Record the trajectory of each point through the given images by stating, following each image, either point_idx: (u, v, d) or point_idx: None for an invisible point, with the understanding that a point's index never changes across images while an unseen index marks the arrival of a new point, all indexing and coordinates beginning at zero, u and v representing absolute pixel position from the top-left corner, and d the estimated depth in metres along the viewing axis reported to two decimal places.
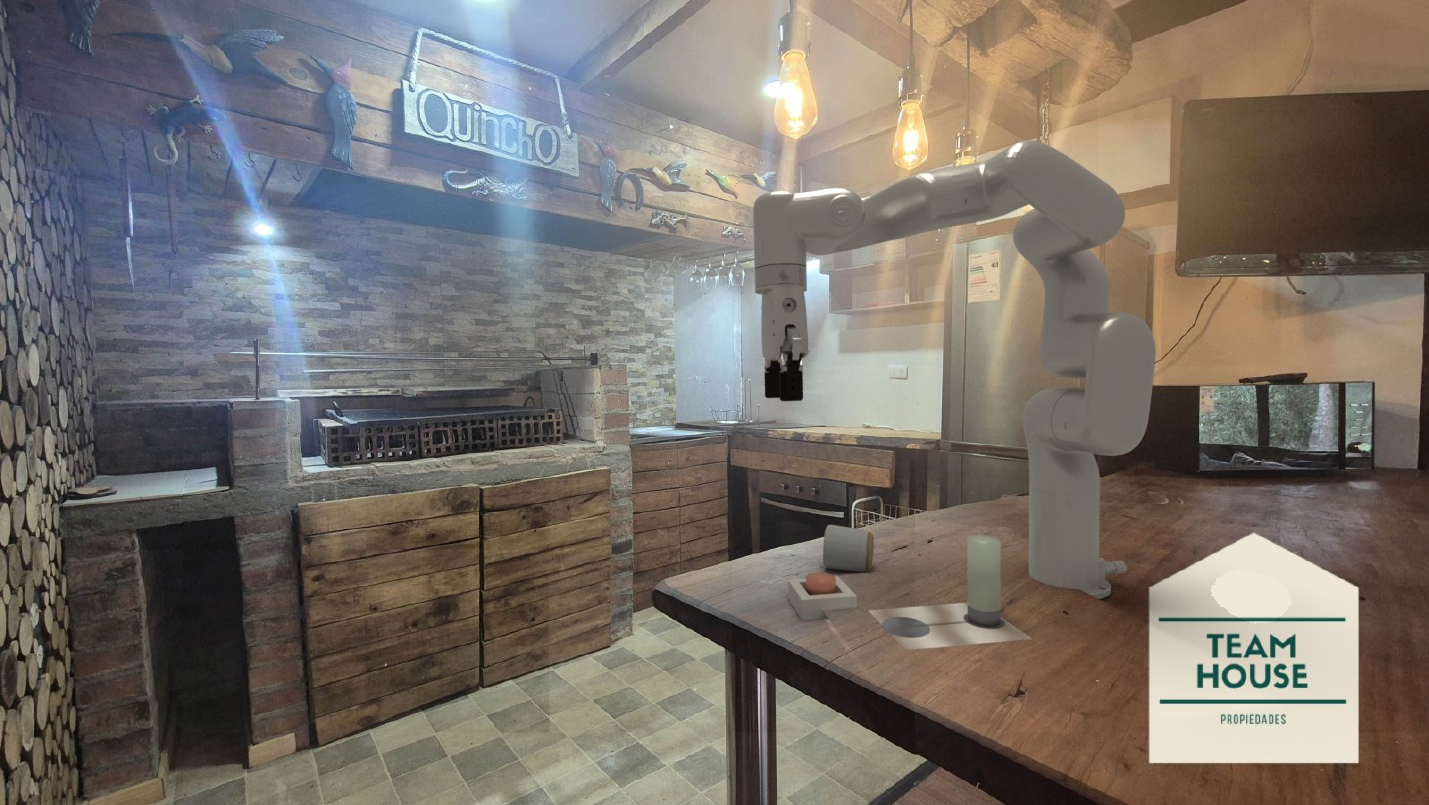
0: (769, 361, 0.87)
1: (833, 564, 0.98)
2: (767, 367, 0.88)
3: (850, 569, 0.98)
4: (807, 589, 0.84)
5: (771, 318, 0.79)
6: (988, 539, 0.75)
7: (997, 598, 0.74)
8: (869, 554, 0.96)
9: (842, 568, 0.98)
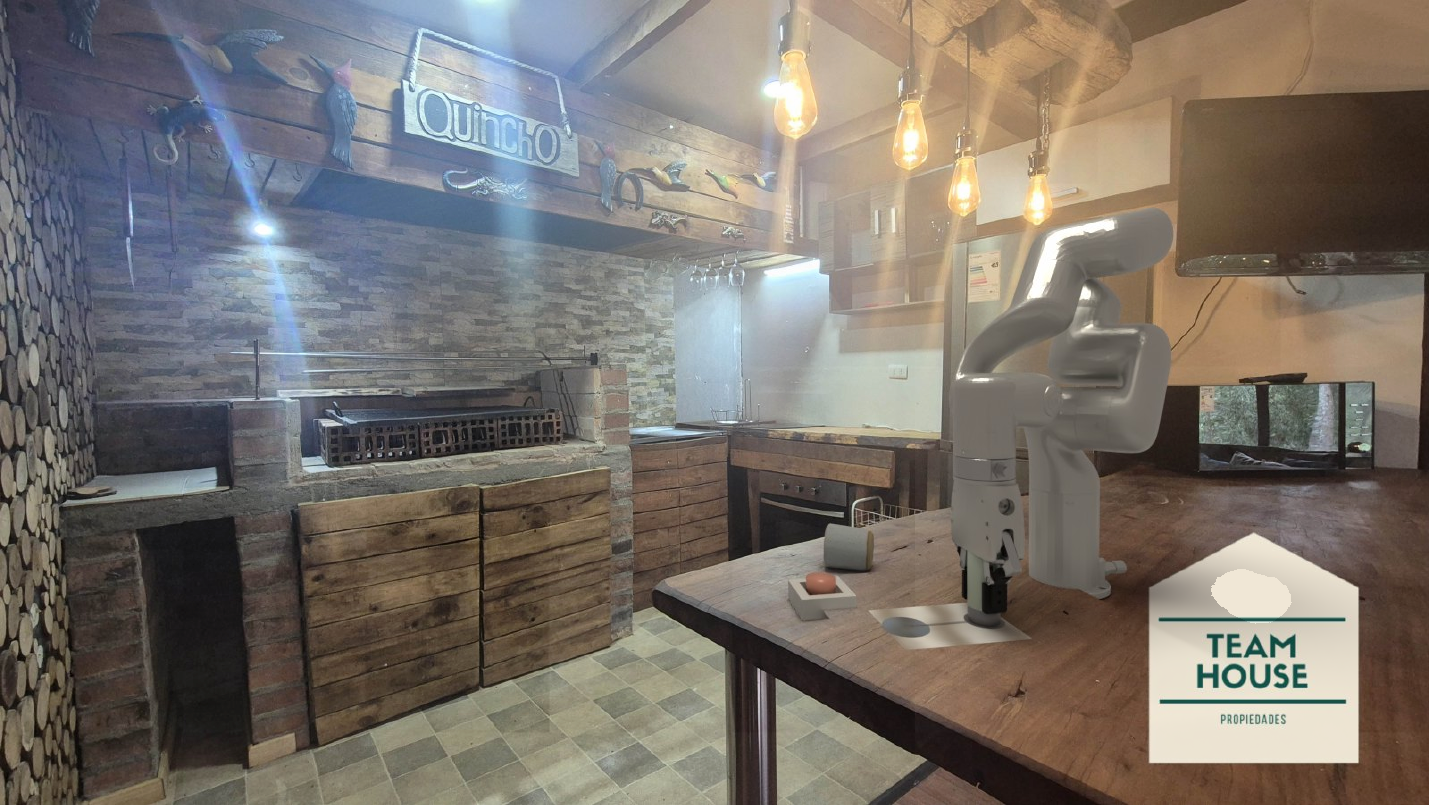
0: None
1: (833, 563, 0.99)
2: (965, 562, 0.78)
3: (850, 568, 0.99)
4: (807, 589, 0.84)
5: (984, 519, 0.71)
6: None
7: None
8: (869, 553, 0.97)
9: (842, 567, 0.99)
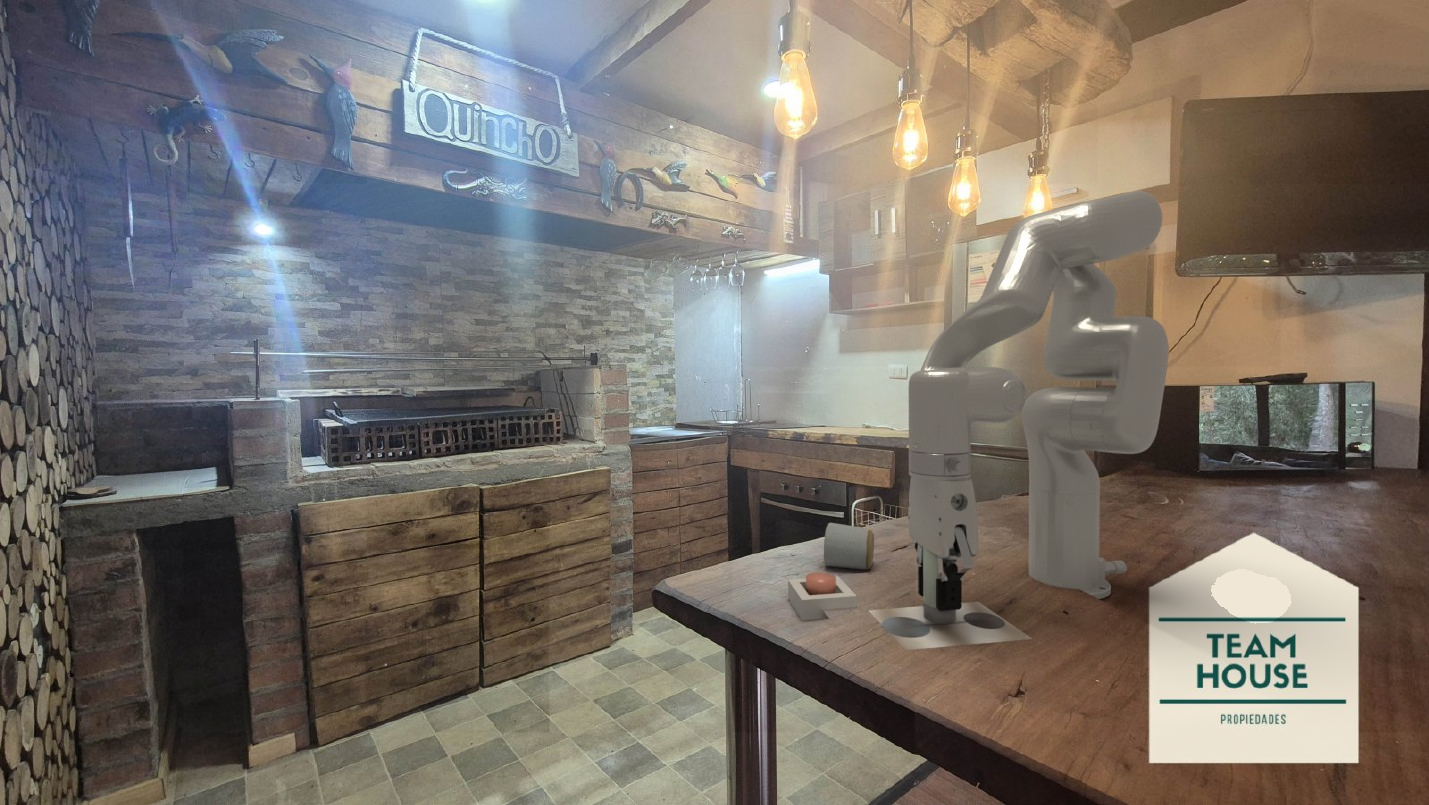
0: None
1: (834, 562, 0.99)
2: (922, 558, 0.77)
3: (850, 566, 0.99)
4: (807, 589, 0.84)
5: (937, 514, 0.70)
6: None
7: None
8: (869, 552, 0.97)
9: (843, 566, 1.00)
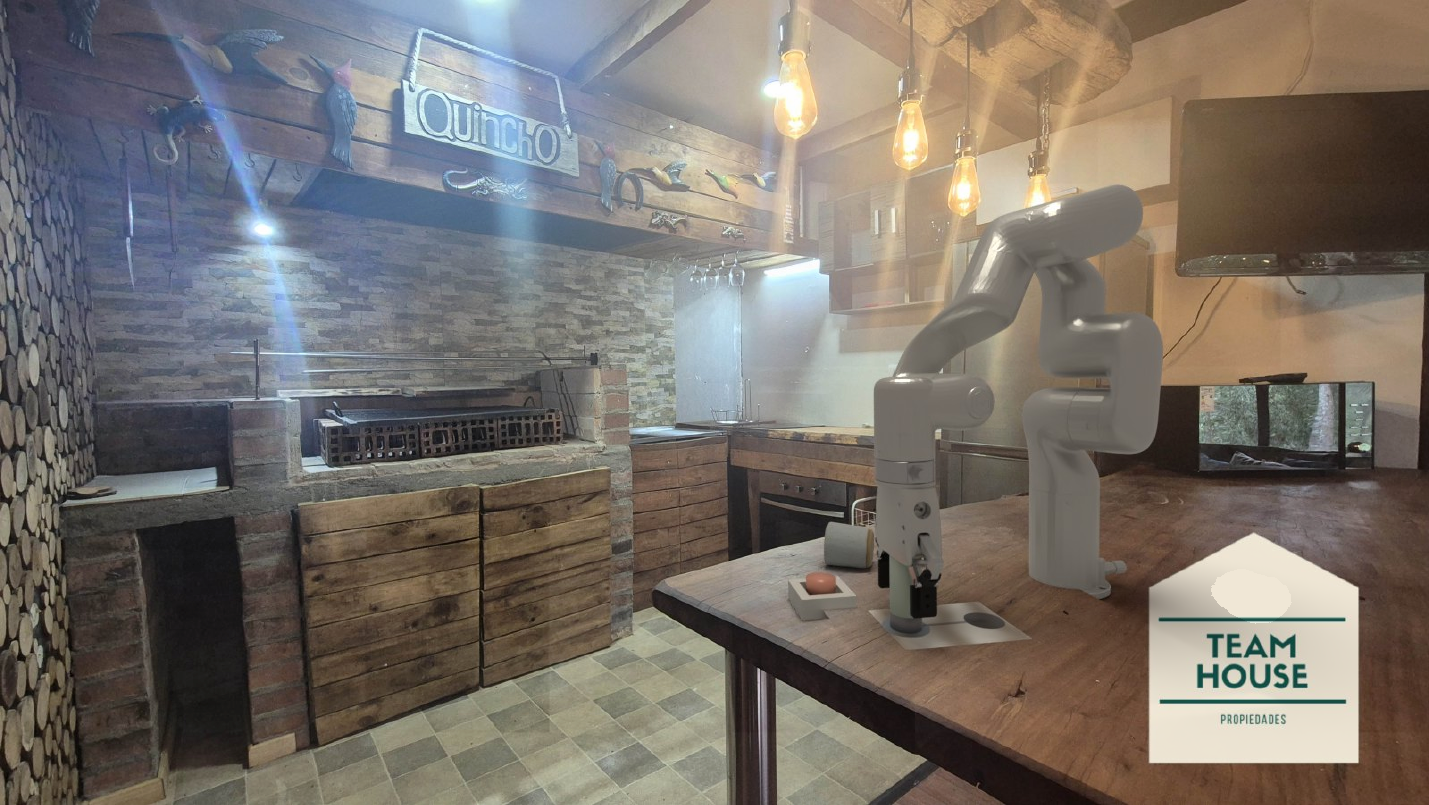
0: None
1: (834, 560, 1.00)
2: (881, 554, 0.79)
3: (850, 565, 1.00)
4: (807, 589, 0.84)
5: (900, 522, 0.70)
6: None
7: None
8: (869, 551, 0.98)
9: (843, 564, 1.00)
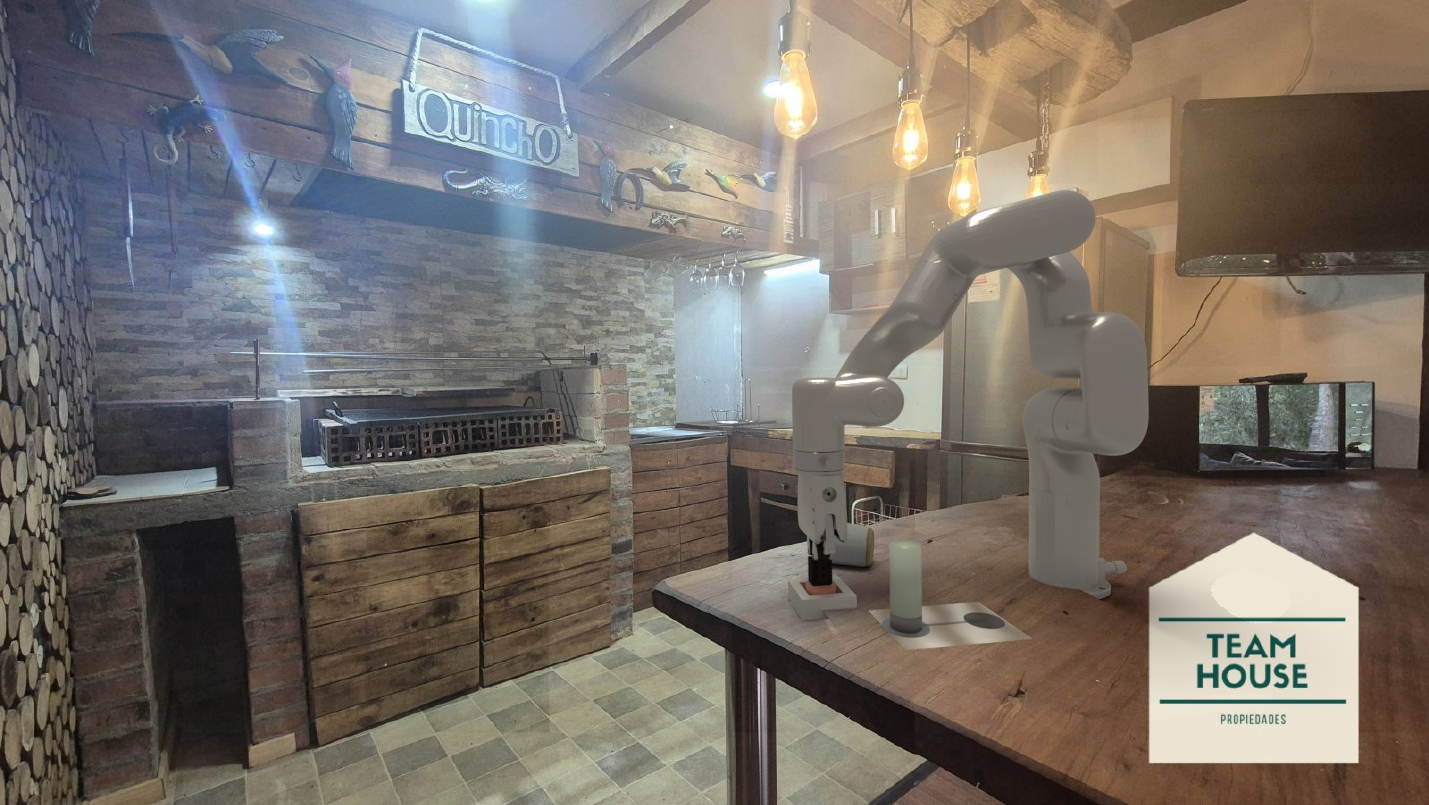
0: (811, 539, 0.85)
1: (834, 559, 1.01)
2: (810, 547, 0.85)
3: (851, 564, 1.01)
4: None
5: (811, 505, 0.80)
6: (910, 544, 0.74)
7: (917, 604, 0.73)
8: (869, 549, 0.99)
9: (843, 562, 1.01)
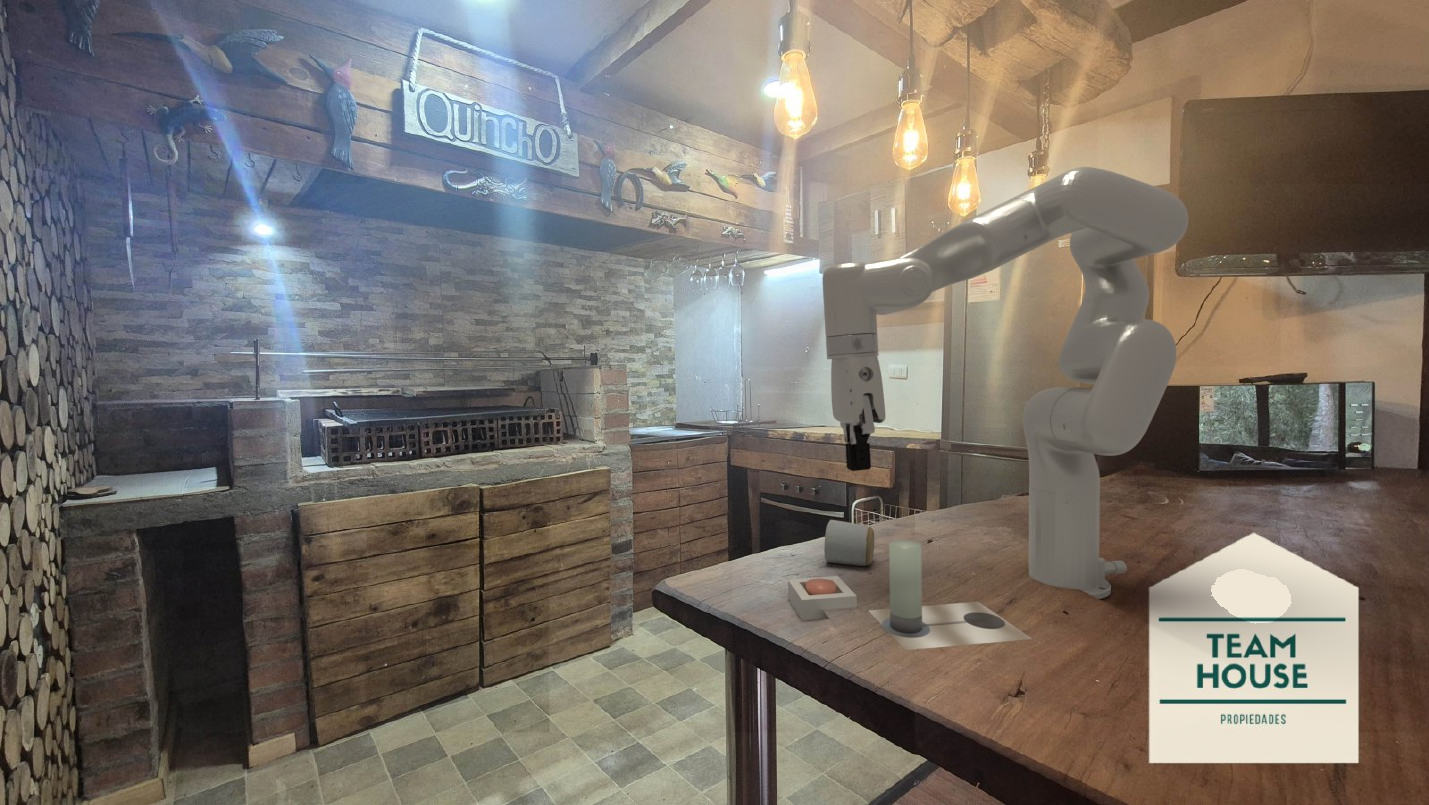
0: (847, 426, 0.86)
1: (834, 558, 1.01)
2: (847, 434, 0.86)
3: (851, 563, 1.01)
4: None
5: (848, 387, 0.81)
6: (910, 544, 0.74)
7: (917, 604, 0.73)
8: (869, 548, 0.99)
9: (843, 562, 1.02)
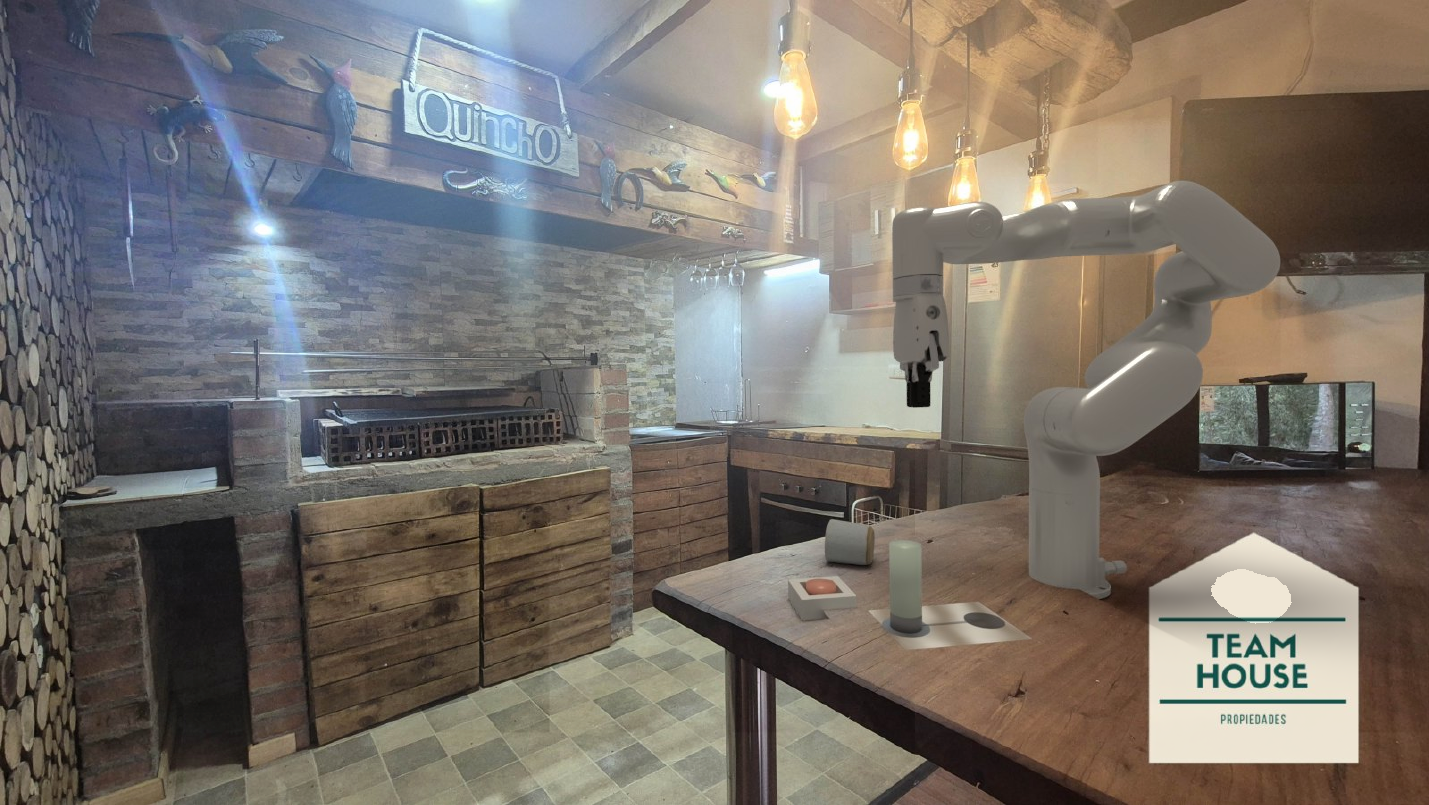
0: (909, 366, 0.91)
1: (834, 557, 1.02)
2: (909, 373, 0.90)
3: (851, 562, 1.02)
4: None
5: (915, 324, 0.86)
6: (910, 544, 0.74)
7: (917, 604, 0.73)
8: (869, 547, 0.99)
9: (843, 561, 1.02)
